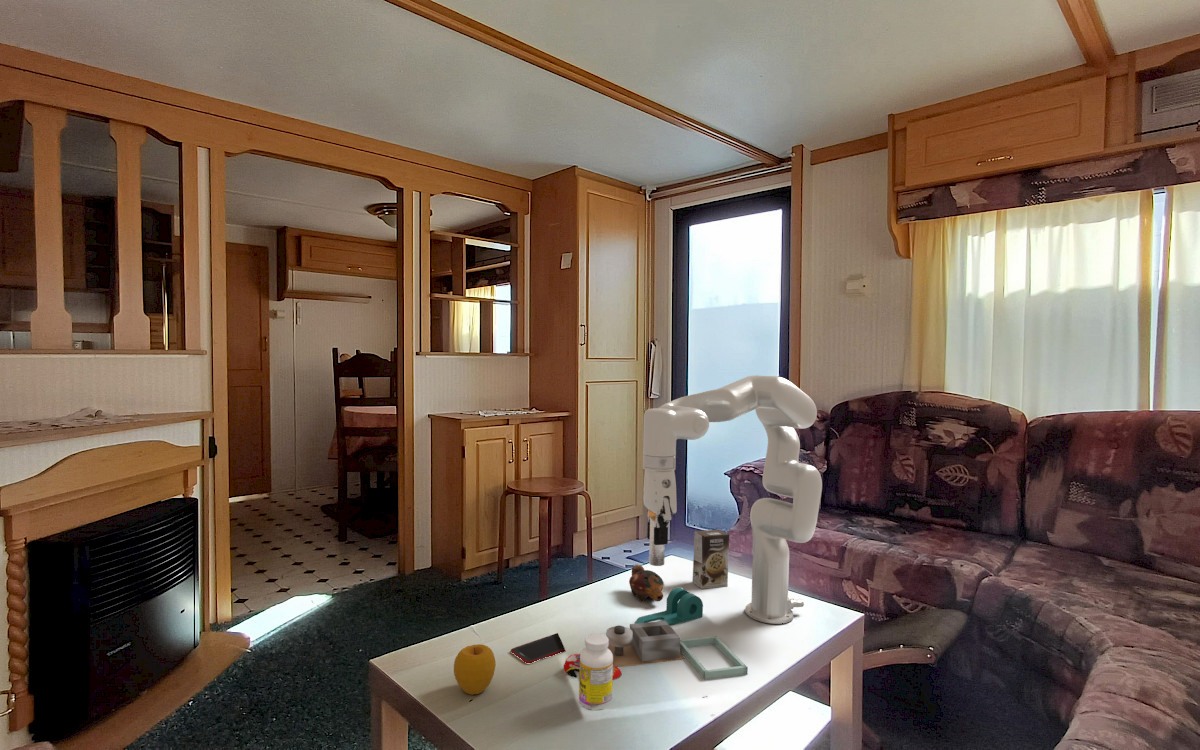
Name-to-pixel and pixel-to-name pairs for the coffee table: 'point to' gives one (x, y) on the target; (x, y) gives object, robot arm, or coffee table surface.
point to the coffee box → (711, 558)
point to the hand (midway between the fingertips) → (657, 540)
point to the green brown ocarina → (646, 584)
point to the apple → (474, 668)
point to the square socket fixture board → (643, 644)
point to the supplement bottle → (595, 671)
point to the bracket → (677, 608)
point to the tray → (714, 673)
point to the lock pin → (654, 550)
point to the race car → (574, 664)
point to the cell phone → (539, 648)
